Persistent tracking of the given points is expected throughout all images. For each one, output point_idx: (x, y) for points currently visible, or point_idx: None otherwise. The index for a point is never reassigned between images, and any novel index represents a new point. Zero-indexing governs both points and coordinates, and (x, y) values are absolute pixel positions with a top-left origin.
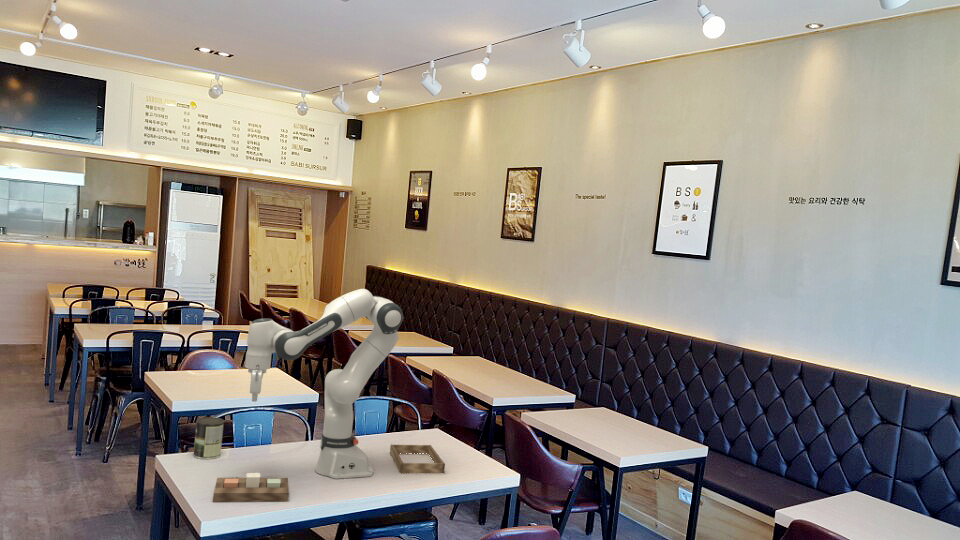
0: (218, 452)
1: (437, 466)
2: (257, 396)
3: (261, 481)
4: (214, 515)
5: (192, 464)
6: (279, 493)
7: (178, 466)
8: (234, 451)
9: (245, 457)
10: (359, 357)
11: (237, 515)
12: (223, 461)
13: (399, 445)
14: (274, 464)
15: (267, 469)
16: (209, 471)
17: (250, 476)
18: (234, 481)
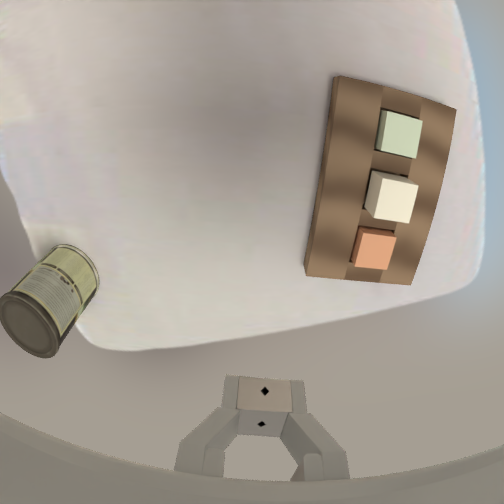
0: (75, 257)
1: None
2: (313, 416)
3: (361, 162)
4: (462, 271)
5: (137, 306)
6: (451, 132)
7: (154, 330)
8: (35, 211)
9: (71, 183)
10: None
11: (477, 232)
12: (106, 239)
13: None
14: (125, 98)
15: (170, 119)
16: (186, 274)
17: (405, 211)
18: (383, 244)
